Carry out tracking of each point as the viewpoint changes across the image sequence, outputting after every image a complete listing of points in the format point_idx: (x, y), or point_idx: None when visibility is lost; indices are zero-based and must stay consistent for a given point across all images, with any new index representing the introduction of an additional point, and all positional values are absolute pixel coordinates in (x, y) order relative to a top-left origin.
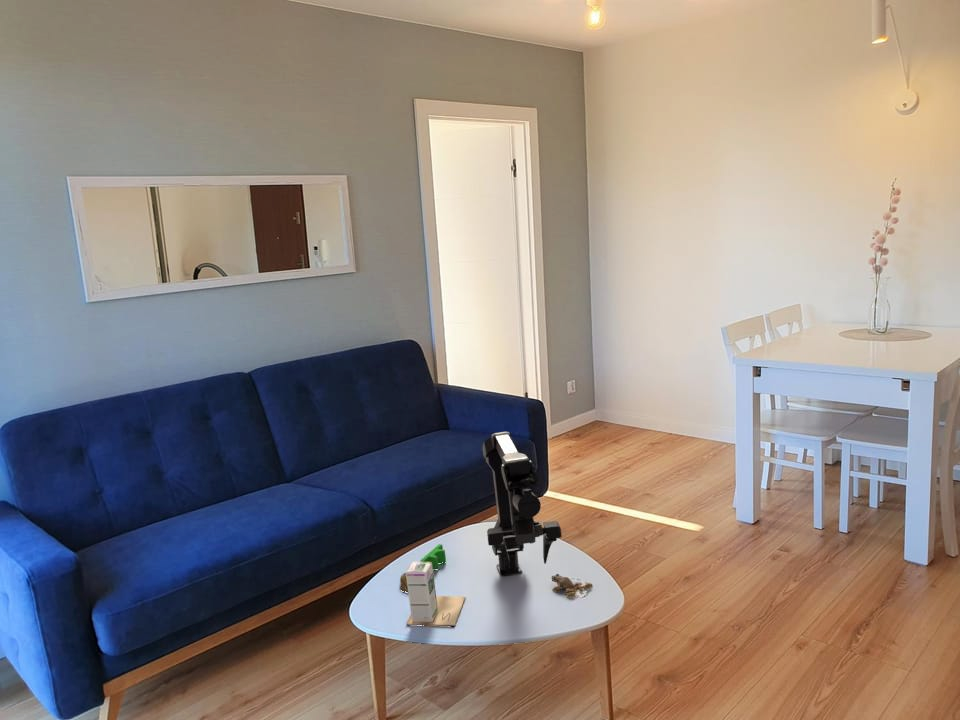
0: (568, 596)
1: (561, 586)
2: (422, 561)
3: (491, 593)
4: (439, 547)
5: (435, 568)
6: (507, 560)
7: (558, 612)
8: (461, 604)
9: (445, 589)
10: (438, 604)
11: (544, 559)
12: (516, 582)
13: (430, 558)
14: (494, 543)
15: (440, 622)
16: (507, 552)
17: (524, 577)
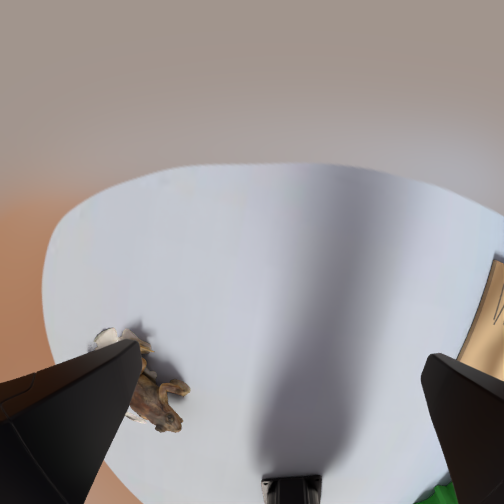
0: (144, 344)
1: (156, 387)
2: None
3: (371, 413)
4: None
5: (441, 488)
6: (480, 377)
7: (185, 265)
8: (461, 361)
9: None
10: (498, 364)
11: (116, 354)
12: (287, 449)
13: (452, 502)
14: None
15: None
16: (459, 465)
17: (260, 462)
